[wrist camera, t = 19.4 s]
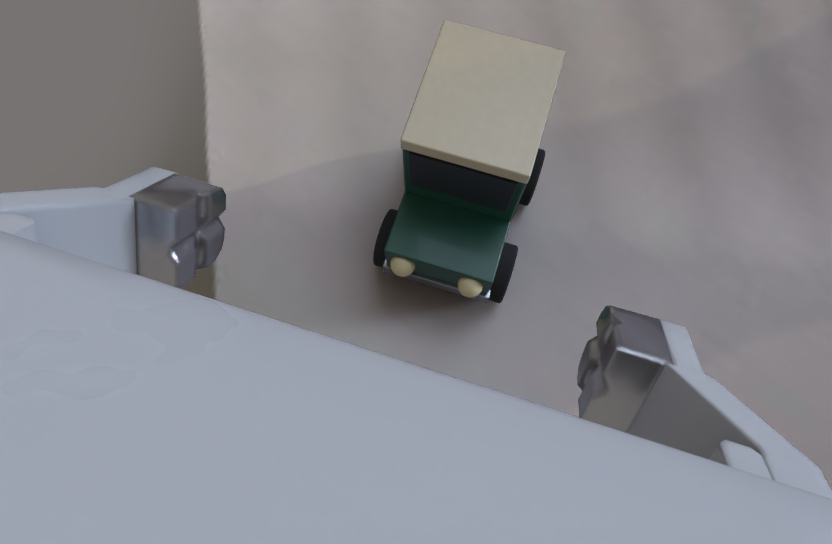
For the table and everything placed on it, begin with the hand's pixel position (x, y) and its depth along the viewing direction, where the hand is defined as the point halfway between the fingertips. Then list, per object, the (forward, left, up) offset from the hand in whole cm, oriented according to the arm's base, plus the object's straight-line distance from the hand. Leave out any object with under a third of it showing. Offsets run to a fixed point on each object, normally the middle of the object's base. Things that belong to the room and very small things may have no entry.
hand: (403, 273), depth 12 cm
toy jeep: (-7, -2, -14) cm, 15 cm away
